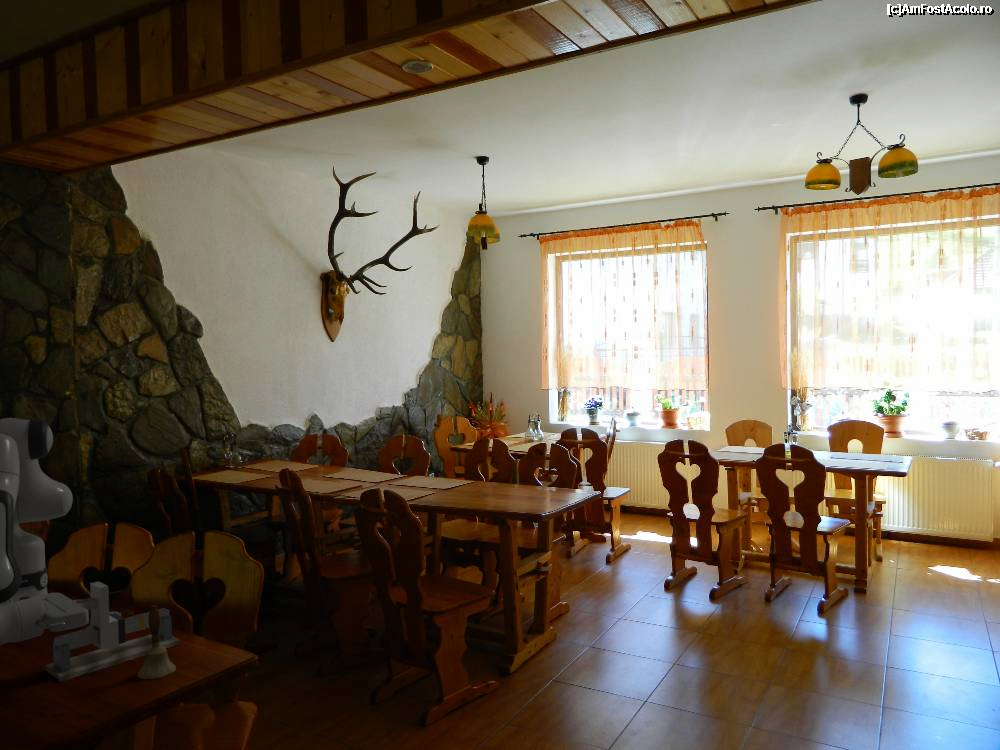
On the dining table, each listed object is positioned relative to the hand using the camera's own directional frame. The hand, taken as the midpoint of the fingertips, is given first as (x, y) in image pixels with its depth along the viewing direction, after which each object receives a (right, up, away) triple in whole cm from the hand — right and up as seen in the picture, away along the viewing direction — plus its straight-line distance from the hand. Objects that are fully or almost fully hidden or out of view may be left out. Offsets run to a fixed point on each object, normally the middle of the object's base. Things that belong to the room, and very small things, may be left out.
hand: (95, 602), depth 178 cm
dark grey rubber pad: (+3, -11, +4) cm, 12 cm away
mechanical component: (-9, -15, +21) cm, 28 cm away
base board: (+3, -15, +4) cm, 16 cm away
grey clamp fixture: (+3, -14, +4) cm, 14 cm away
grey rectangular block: (+2, -11, +2) cm, 11 cm away
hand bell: (+18, -15, -5) cm, 24 cm away
